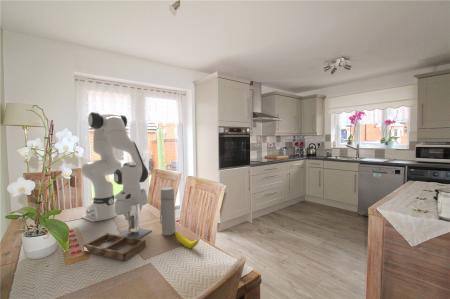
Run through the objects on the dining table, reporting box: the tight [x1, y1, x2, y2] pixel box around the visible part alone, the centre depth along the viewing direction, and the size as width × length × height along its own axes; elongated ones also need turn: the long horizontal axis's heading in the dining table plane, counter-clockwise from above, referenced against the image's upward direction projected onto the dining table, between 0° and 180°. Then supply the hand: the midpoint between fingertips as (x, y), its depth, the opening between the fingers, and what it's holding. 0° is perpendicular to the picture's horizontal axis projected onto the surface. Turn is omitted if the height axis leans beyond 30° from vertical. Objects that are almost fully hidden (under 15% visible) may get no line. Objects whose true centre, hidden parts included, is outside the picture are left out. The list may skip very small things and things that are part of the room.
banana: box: [174, 230, 200, 249], centre depth 102 cm, size 3×19×6 cm, turn 48°
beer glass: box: [126, 203, 141, 233], centre depth 116 cm, size 7×7×15 cm
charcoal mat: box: [117, 227, 152, 239], centre depth 117 cm, size 14×12×1 cm
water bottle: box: [159, 186, 176, 237], centre depth 117 cm, size 9×8×25 cm
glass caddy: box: [83, 232, 147, 262], centre depth 102 cm, size 25×13×3 cm, turn 70°
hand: (133, 217), depth 116 cm, fingers closed on beer glass, 6 cm apart
